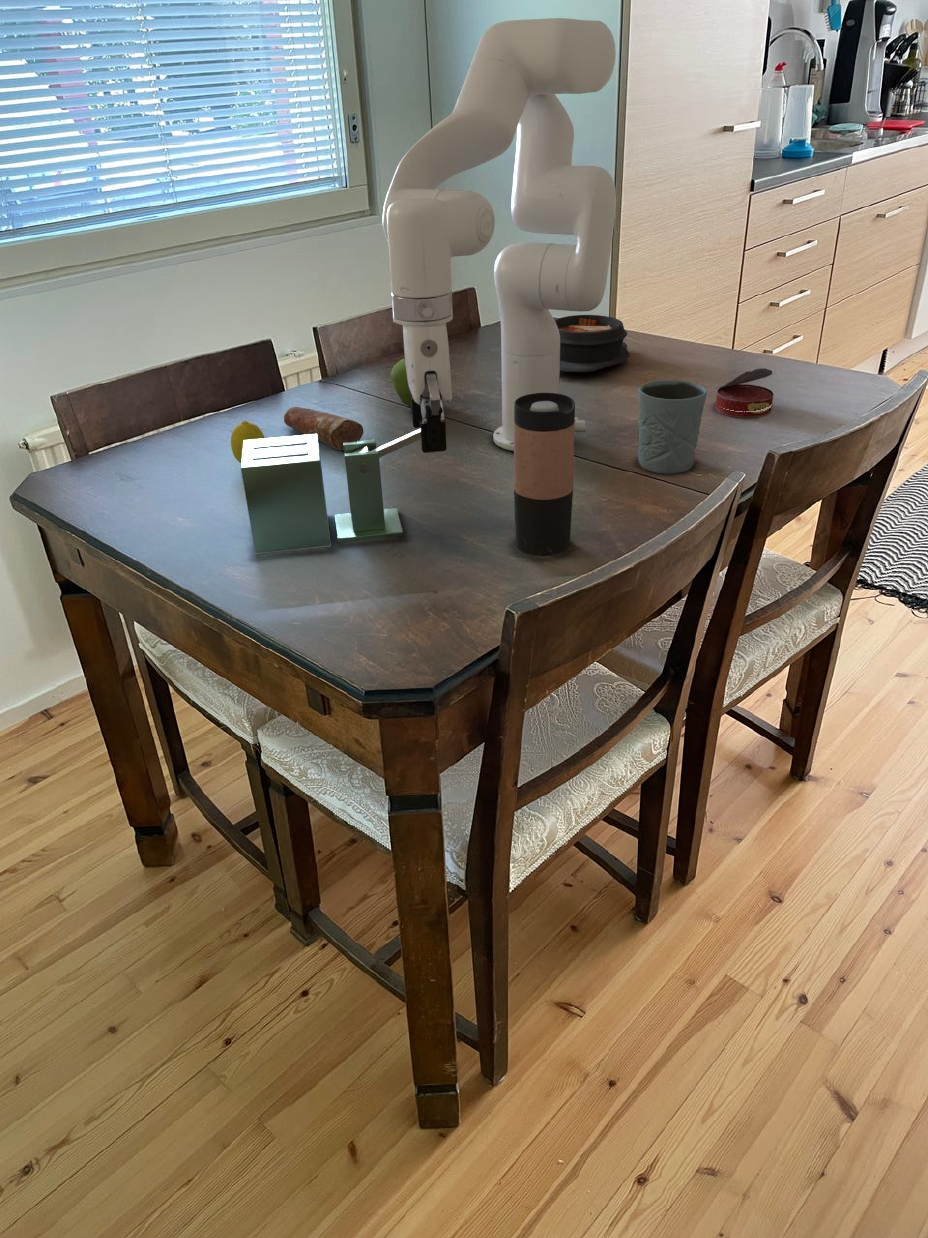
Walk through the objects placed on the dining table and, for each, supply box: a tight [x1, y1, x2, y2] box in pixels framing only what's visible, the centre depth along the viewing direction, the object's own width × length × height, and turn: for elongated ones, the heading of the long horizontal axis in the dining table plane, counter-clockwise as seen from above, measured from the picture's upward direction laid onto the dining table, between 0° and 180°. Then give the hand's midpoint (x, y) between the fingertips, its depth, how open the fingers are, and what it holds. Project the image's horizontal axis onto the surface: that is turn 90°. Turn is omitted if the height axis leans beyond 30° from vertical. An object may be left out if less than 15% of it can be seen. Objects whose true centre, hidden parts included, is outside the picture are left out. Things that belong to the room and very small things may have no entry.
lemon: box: [230, 420, 265, 464], centre depth 149 cm, size 6×6×8 cm
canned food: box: [714, 367, 774, 419], centre depth 166 cm, size 11×10×10 cm
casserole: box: [554, 314, 631, 374], centre depth 193 cm, size 25×19×8 cm
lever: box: [352, 428, 421, 459], centre depth 124 cm, size 12×6×2 cm, turn 99°
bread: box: [283, 406, 364, 451], centre depth 160 cm, size 6×19×6 cm, turn 39°
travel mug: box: [513, 393, 576, 557], centre depth 118 cm, size 8×8×20 cm
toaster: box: [240, 434, 332, 556], centre depth 125 cm, size 10×10×13 cm
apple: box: [390, 358, 442, 409], centre depth 172 cm, size 11×10×10 cm
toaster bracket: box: [333, 439, 404, 544], centre depth 127 cm, size 9×8×12 cm
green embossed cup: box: [638, 379, 708, 475], centre depth 144 cm, size 10×10×12 cm
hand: (429, 438), depth 124 cm, fingers open, 9 cm apart
